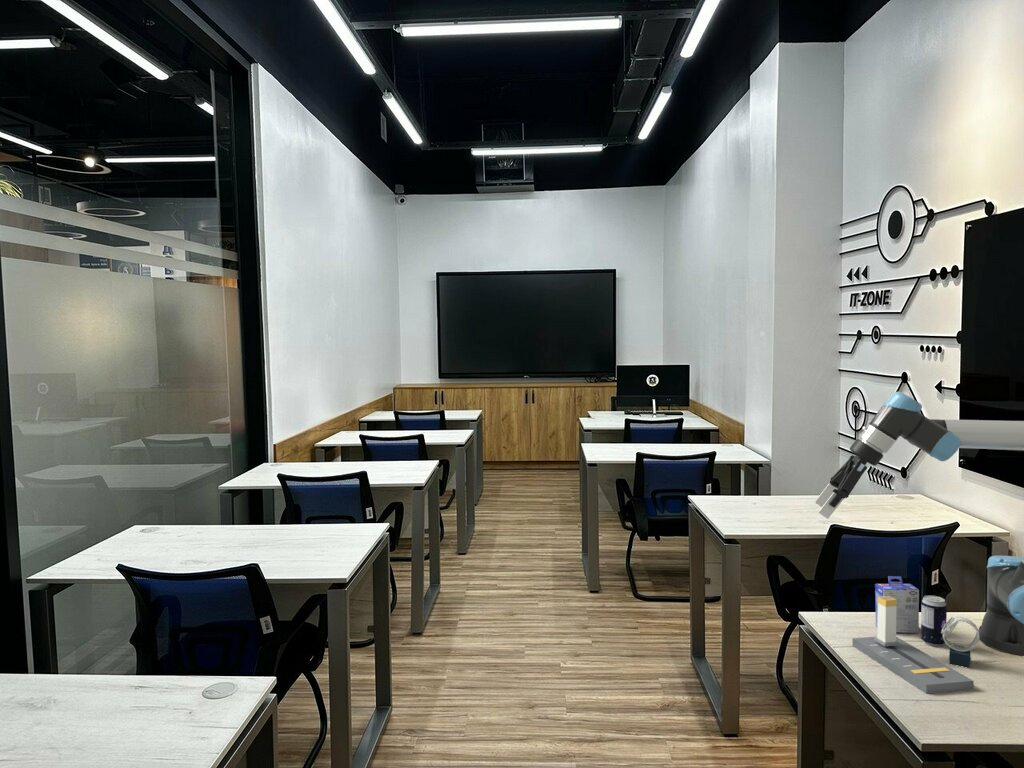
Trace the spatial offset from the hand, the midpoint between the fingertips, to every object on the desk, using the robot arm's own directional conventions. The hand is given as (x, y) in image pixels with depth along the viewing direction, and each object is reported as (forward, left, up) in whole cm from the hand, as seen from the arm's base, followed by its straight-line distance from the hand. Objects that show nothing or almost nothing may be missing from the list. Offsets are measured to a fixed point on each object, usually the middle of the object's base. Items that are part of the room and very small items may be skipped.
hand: (820, 510), depth 184 cm
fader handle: (-12, +10, -32) cm, 36 cm away
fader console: (-12, +18, -35) cm, 41 cm away
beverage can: (-28, +7, -35) cm, 46 cm away
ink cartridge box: (-25, -3, -35) cm, 43 cm away
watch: (-26, +18, -35) cm, 48 cm away
